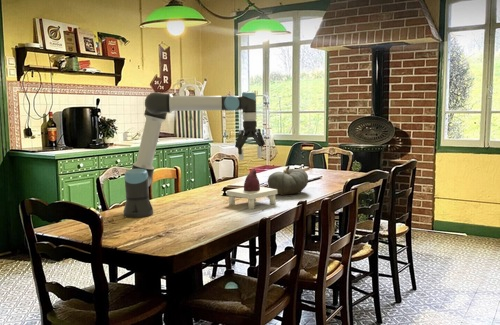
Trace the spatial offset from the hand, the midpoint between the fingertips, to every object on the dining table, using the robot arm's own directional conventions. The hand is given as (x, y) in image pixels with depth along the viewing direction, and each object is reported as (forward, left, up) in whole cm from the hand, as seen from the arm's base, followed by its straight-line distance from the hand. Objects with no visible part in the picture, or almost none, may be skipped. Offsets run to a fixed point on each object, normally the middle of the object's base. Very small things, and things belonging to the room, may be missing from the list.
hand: (250, 159), depth 269 cm
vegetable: (0, 0, -18) cm, 18 cm away
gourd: (-7, +36, -26) cm, 45 cm away
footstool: (0, 0, -25) cm, 25 cm away
